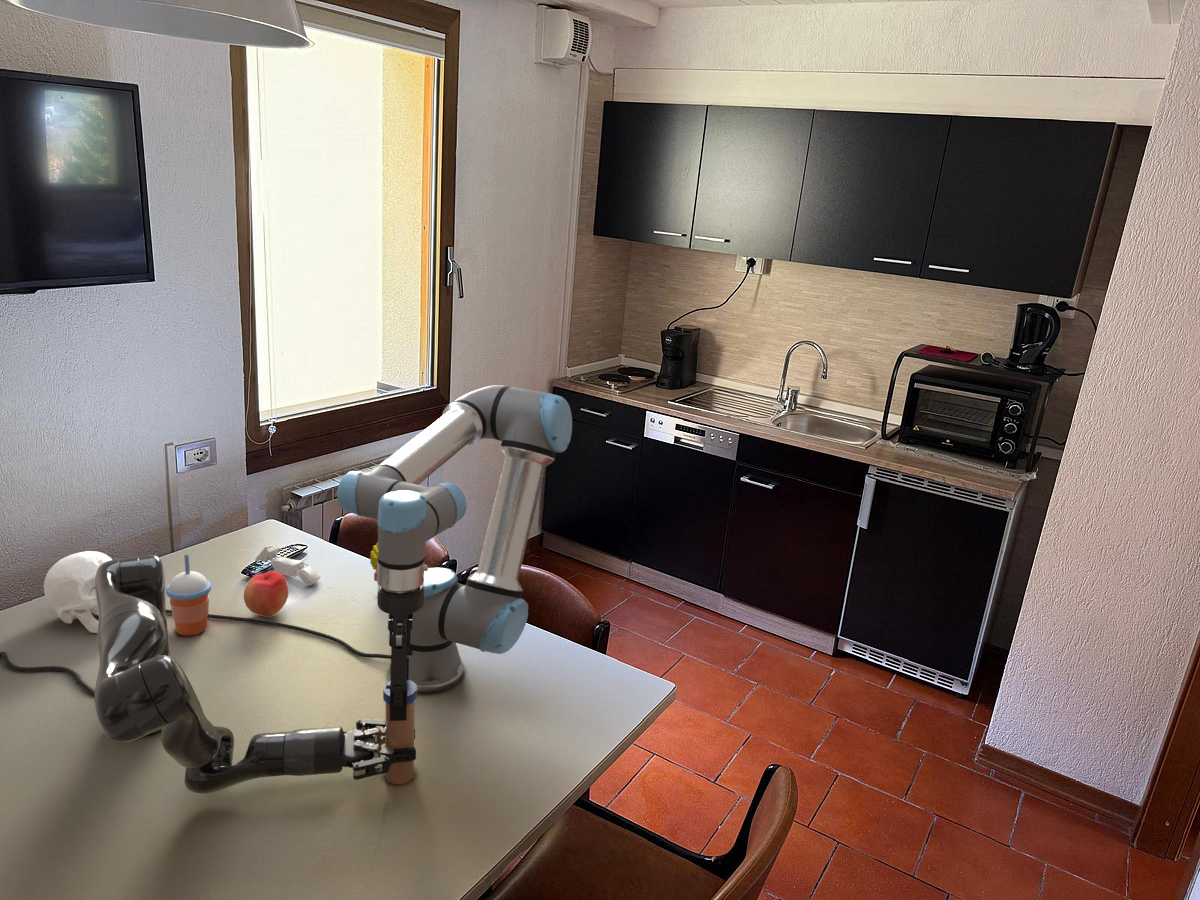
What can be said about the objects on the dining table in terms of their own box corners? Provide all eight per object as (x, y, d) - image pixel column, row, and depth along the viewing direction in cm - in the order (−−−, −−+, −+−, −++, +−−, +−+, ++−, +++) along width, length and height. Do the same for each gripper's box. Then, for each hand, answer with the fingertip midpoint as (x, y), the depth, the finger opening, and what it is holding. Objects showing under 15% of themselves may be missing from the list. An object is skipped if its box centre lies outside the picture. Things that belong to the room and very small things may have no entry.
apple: (273, 600, 207) (272, 562, 204) (297, 613, 202) (296, 575, 199) (237, 614, 200) (234, 575, 197) (261, 628, 194) (259, 588, 191)
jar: (416, 781, 150) (417, 696, 145) (387, 786, 148) (388, 700, 143) (410, 763, 154) (412, 680, 149) (383, 768, 153) (383, 684, 147)
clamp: (253, 565, 223) (254, 542, 221) (265, 560, 226) (266, 537, 224) (309, 593, 215) (310, 569, 213) (320, 588, 218) (321, 564, 216)
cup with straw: (196, 642, 187) (191, 567, 182) (159, 635, 188) (153, 560, 183) (222, 622, 195) (218, 550, 190) (187, 616, 197) (181, 544, 192)
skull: (111, 644, 183) (106, 576, 179) (31, 622, 189) (25, 556, 185) (159, 618, 196) (155, 554, 192) (82, 599, 202) (77, 536, 197)
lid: (419, 703, 145) (420, 694, 145) (386, 708, 143) (386, 700, 143) (413, 685, 150) (413, 676, 150) (380, 690, 148) (380, 681, 147)
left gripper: (309, 759, 138) (417, 751, 142) (316, 707, 152) (414, 701, 156) (310, 798, 141) (416, 788, 145) (317, 743, 154) (414, 736, 158)
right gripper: (423, 614, 131) (420, 741, 138) (425, 558, 151) (422, 671, 157) (372, 614, 130) (372, 742, 136) (381, 558, 149) (380, 672, 156)
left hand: (414, 743), depth 150 cm, fingers closed on jar, 5 cm apart
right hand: (399, 704), depth 147 cm, fingers open, 8 cm apart
